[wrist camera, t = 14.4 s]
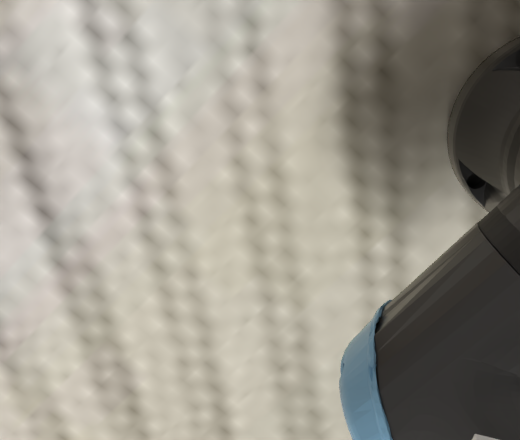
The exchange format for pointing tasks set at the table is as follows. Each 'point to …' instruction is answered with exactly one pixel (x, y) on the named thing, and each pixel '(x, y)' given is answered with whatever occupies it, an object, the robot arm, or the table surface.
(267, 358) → the table surface
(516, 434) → the robot arm
